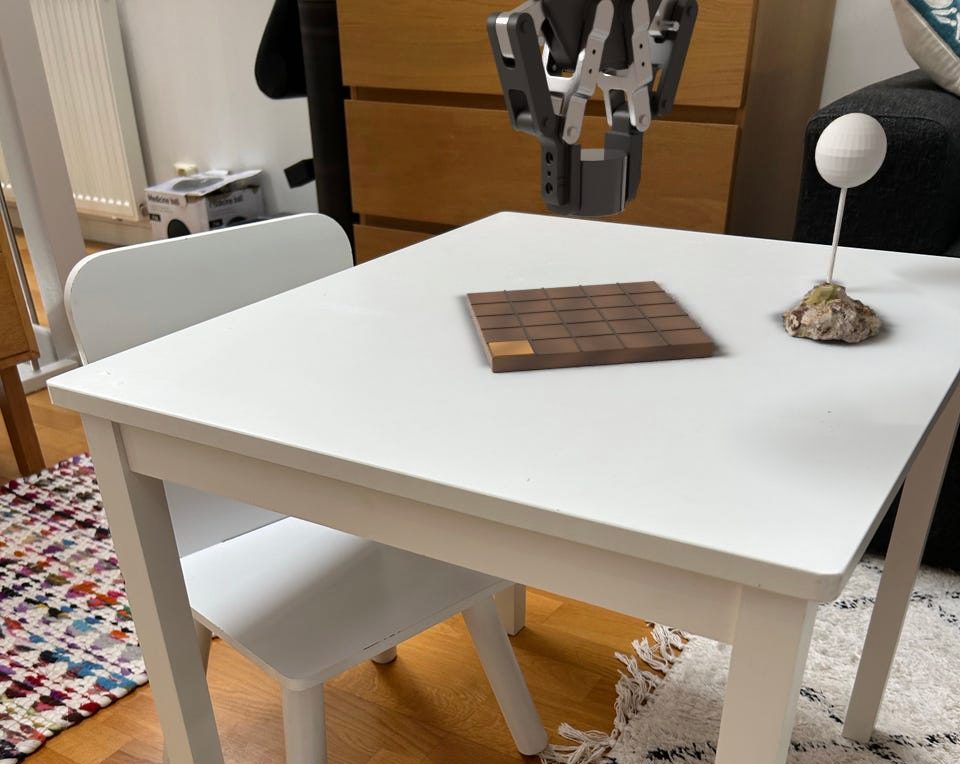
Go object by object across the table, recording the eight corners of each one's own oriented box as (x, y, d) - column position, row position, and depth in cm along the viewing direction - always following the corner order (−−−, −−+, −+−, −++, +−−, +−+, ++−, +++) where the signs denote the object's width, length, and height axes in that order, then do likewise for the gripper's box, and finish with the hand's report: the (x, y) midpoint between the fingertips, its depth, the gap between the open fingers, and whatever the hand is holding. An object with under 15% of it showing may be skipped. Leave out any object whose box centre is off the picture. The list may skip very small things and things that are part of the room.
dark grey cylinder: (615, 200, 61) (618, 146, 59) (632, 214, 58) (635, 158, 56) (551, 204, 61) (552, 150, 59) (565, 219, 57) (565, 162, 56)
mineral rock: (897, 321, 79) (800, 289, 79) (871, 372, 81) (777, 341, 82) (884, 287, 88) (797, 259, 88) (861, 334, 90) (776, 306, 90)
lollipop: (858, 302, 91) (893, 119, 82) (792, 298, 92) (819, 118, 84) (860, 284, 95) (893, 108, 87) (797, 280, 97) (823, 107, 88)
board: (653, 293, 95) (654, 279, 94) (712, 356, 80) (714, 340, 80) (467, 306, 93) (466, 292, 93) (492, 372, 79) (491, 356, 78)
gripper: (542, -174, 43) (541, 238, 53) (756, -168, 50) (720, 196, 60) (442, -158, 48) (458, 216, 58) (649, -155, 55) (632, 180, 65)
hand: (591, 204), depth 59 cm, fingers closed on dark grey cylinder, 4 cm apart
